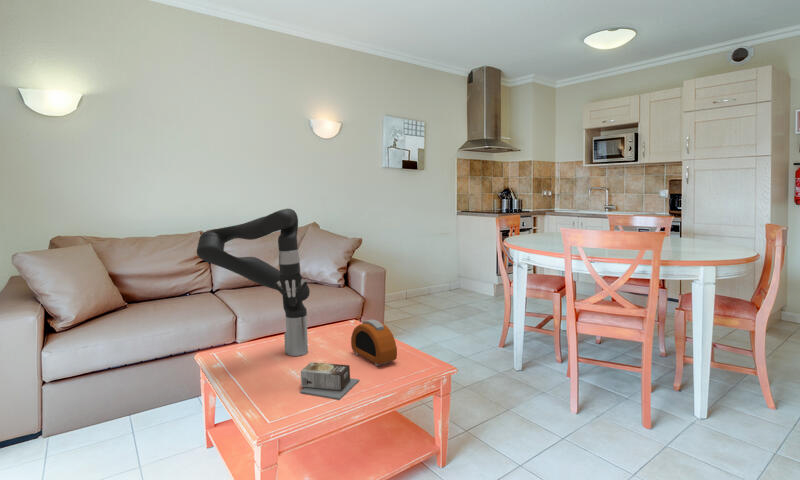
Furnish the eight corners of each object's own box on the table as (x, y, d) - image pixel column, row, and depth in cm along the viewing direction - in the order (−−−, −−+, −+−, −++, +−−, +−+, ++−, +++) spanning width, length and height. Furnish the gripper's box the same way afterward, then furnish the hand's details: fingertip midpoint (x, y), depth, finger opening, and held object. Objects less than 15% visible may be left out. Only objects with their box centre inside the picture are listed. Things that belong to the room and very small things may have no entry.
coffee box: (310, 361, 167) (350, 364, 164) (311, 377, 168) (350, 380, 165) (300, 370, 159) (341, 374, 155) (300, 387, 159) (342, 391, 156)
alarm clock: (350, 352, 195) (349, 316, 193) (367, 348, 201) (366, 313, 199) (380, 369, 177) (379, 329, 175) (397, 364, 182) (397, 325, 180)
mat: (299, 393, 156) (299, 391, 156) (322, 375, 171) (322, 373, 171) (339, 399, 151) (339, 398, 151) (359, 381, 166) (359, 379, 166)
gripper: (269, 264, 160) (273, 310, 163) (306, 262, 162) (309, 307, 164) (272, 261, 168) (276, 304, 170) (307, 258, 169) (311, 302, 172)
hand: (292, 305), depth 167 cm, fingers closed
